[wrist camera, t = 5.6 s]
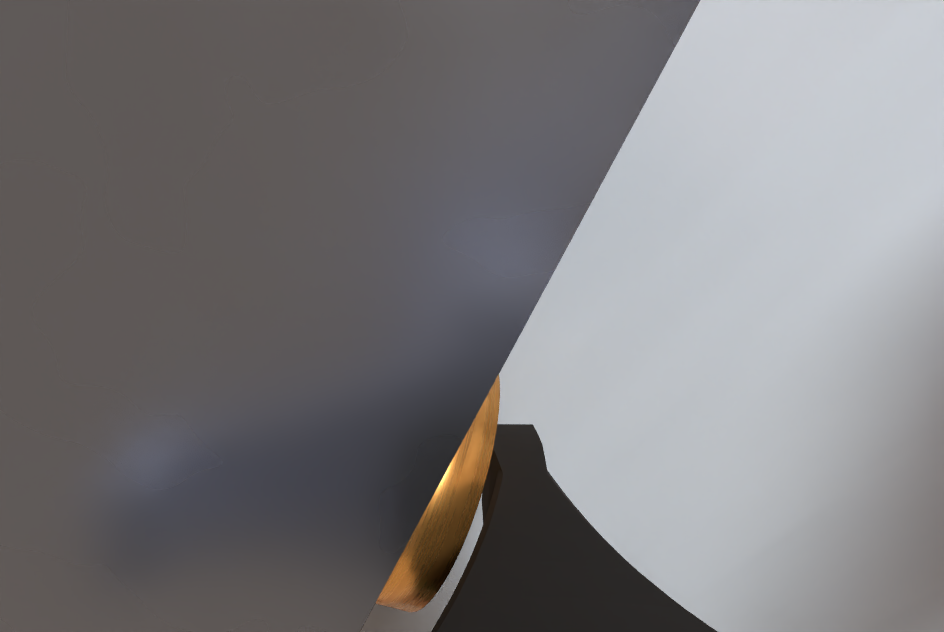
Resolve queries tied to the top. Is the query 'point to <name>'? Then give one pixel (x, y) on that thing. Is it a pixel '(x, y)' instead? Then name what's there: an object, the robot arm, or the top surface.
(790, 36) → the top surface
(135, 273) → the block
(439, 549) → the pin
